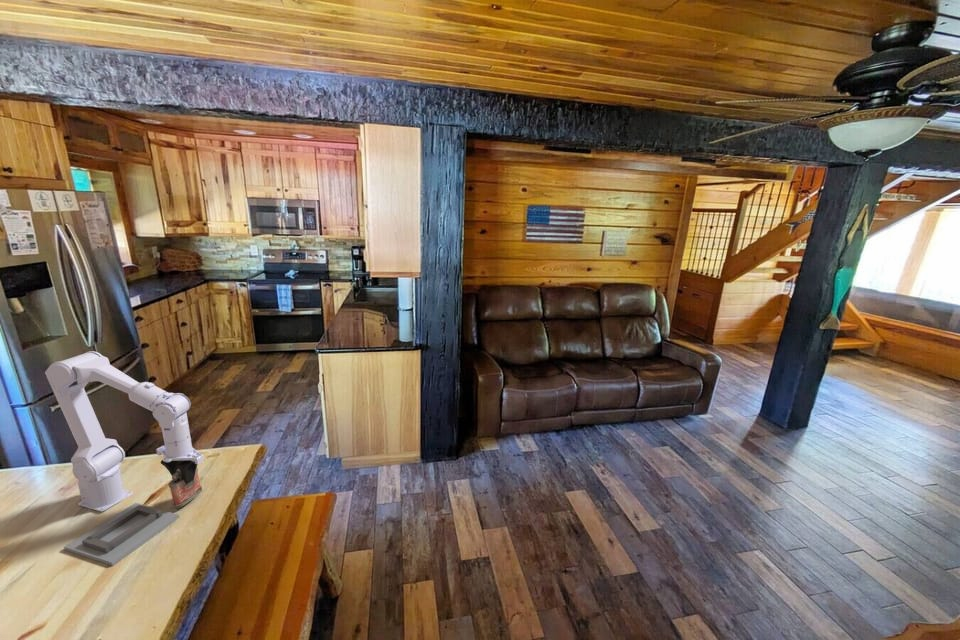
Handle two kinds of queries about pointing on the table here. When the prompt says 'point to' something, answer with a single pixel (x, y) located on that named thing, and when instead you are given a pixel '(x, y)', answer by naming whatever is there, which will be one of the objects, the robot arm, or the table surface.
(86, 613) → the table surface
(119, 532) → the socket dock
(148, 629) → the table surface
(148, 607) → the table surface
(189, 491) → the lighter
